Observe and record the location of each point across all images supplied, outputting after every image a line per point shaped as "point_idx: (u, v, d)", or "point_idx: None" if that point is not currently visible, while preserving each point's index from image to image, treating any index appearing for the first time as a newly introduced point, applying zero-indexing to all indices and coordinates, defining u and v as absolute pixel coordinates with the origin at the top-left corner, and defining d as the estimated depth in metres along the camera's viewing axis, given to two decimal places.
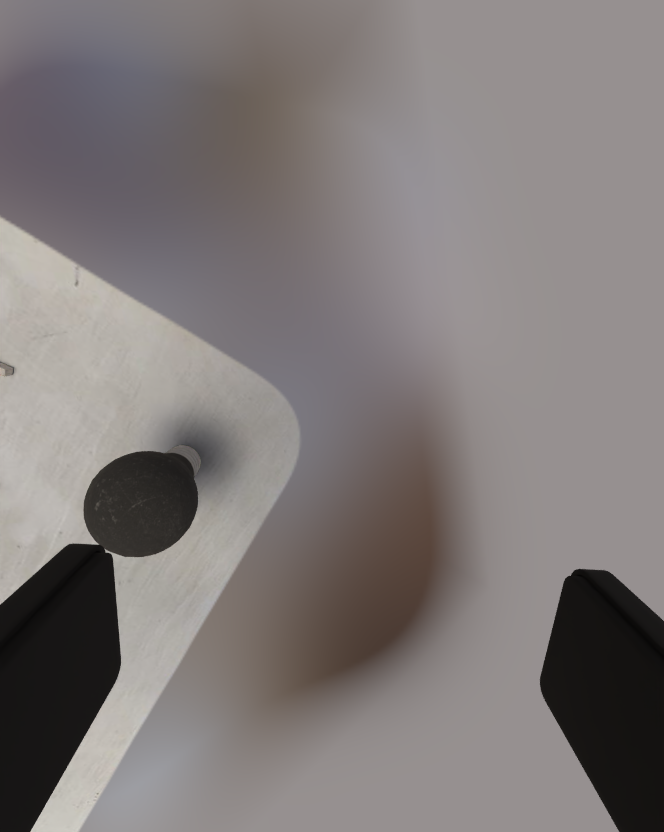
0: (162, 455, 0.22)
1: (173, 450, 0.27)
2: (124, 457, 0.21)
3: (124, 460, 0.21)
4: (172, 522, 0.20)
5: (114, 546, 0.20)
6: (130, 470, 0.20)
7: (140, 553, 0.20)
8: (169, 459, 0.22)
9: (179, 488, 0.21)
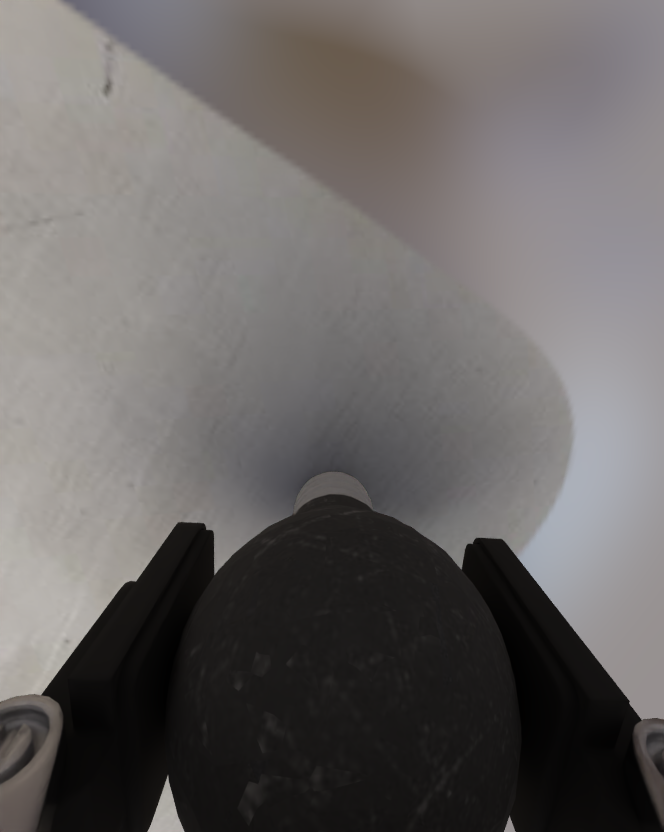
0: (399, 526, 0.07)
1: (327, 486, 0.12)
2: (301, 544, 0.06)
3: (313, 562, 0.06)
4: (511, 806, 0.05)
5: None
6: (363, 612, 0.05)
7: None
8: (427, 541, 0.07)
9: (506, 658, 0.06)
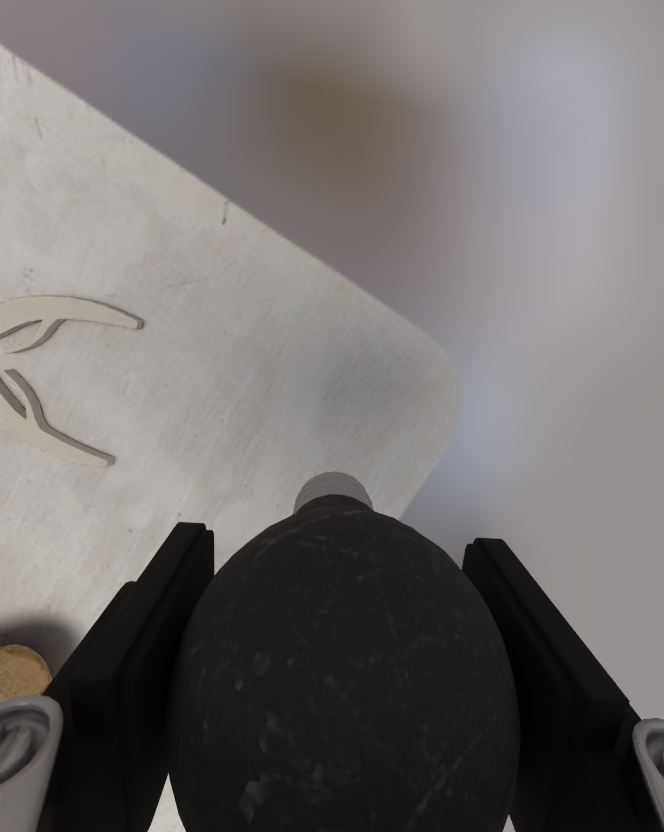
0: (399, 526, 0.07)
1: (327, 486, 0.12)
2: (301, 544, 0.06)
3: (313, 562, 0.06)
4: (510, 804, 0.05)
5: None
6: (362, 611, 0.05)
7: None
8: (426, 541, 0.07)
9: (505, 658, 0.06)
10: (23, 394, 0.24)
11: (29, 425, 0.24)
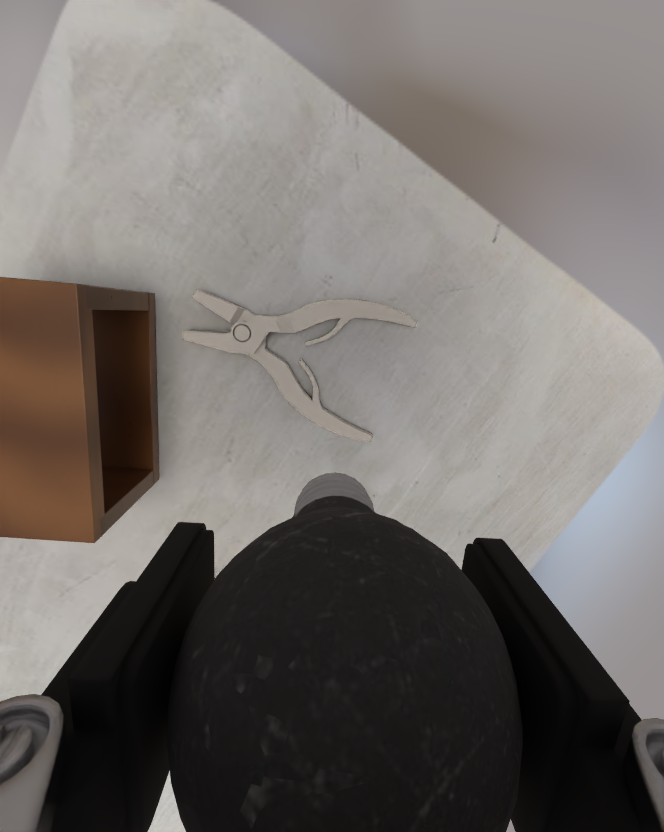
0: (400, 528, 0.07)
1: (328, 487, 0.12)
2: (302, 546, 0.06)
3: (315, 564, 0.06)
4: (513, 807, 0.05)
5: None
6: (364, 615, 0.05)
7: None
8: (428, 544, 0.07)
9: (507, 660, 0.06)
10: (313, 379, 0.29)
11: (313, 405, 0.29)
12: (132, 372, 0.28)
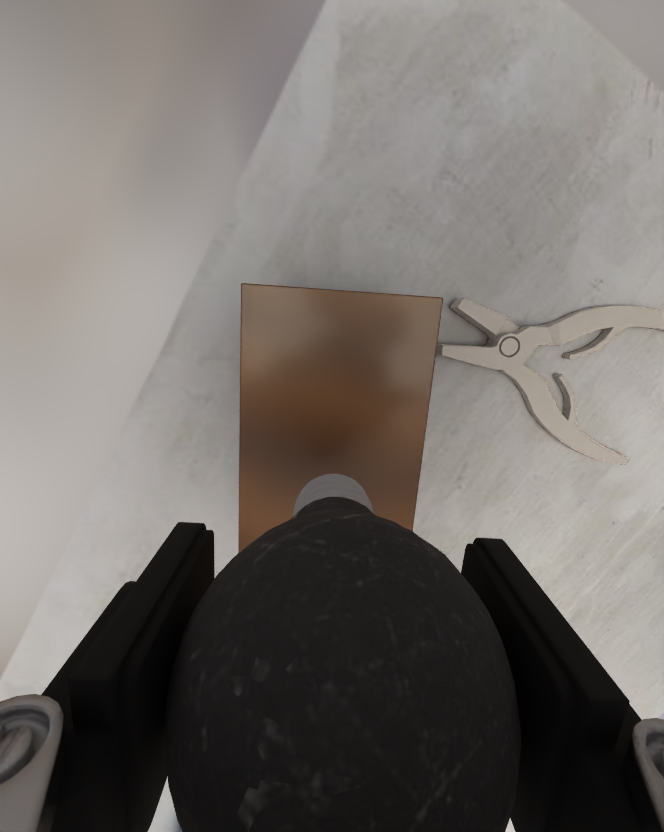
0: (399, 530, 0.07)
1: (327, 488, 0.12)
2: (300, 548, 0.06)
3: (312, 566, 0.06)
4: (511, 810, 0.05)
5: None
6: (362, 617, 0.05)
7: None
8: (426, 545, 0.07)
9: (506, 663, 0.06)
10: (573, 397, 0.25)
11: (569, 425, 0.26)
12: None
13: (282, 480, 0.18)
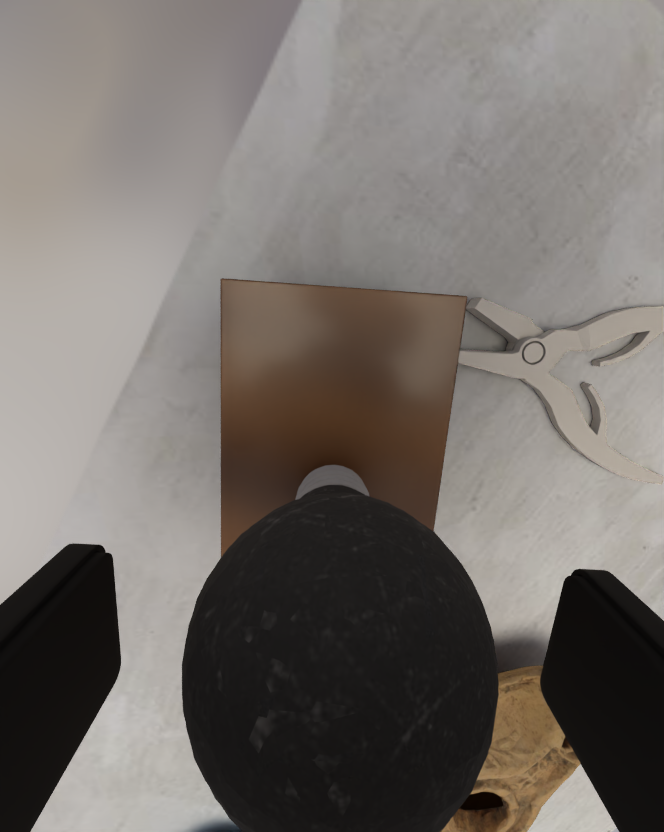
0: (391, 508, 0.08)
1: (327, 477, 0.12)
2: (302, 521, 0.07)
3: (313, 535, 0.06)
4: (488, 749, 0.06)
5: None
6: (357, 576, 0.06)
7: None
8: (416, 522, 0.07)
9: (485, 622, 0.06)
10: (603, 409, 0.22)
11: (598, 441, 0.23)
12: None
13: None
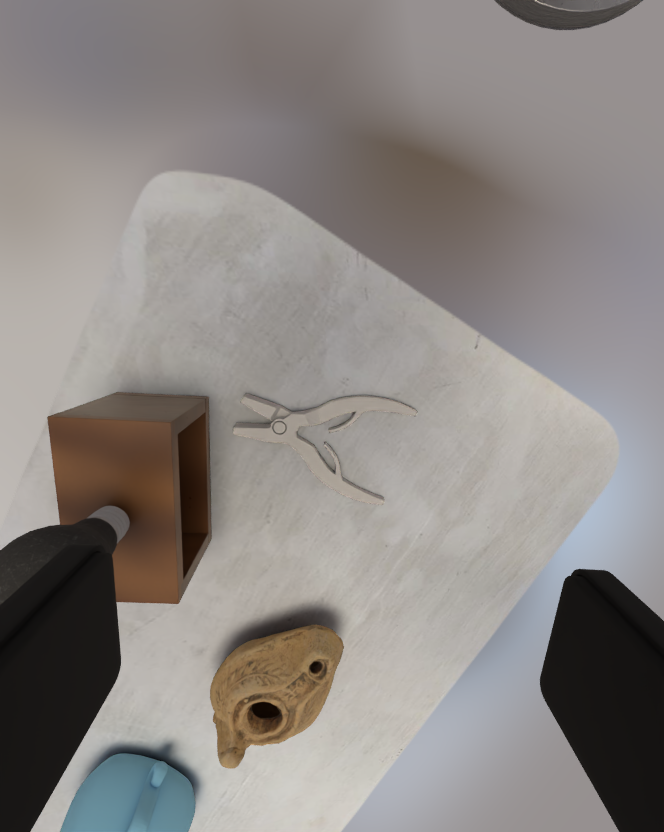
0: (68, 531, 0.21)
1: (97, 513, 0.26)
2: (24, 537, 0.20)
3: (22, 542, 0.20)
4: None
5: None
6: (25, 554, 0.19)
7: None
8: (75, 536, 0.21)
9: None
10: (336, 458, 0.36)
11: (336, 478, 0.36)
12: (192, 458, 0.35)
13: None
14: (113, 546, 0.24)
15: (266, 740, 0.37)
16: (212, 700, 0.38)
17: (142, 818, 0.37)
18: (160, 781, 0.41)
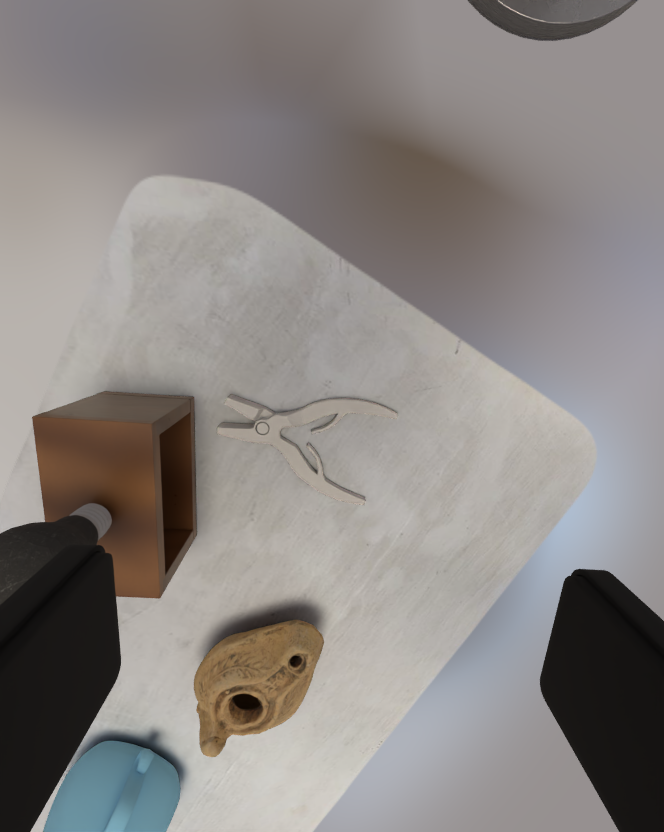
0: (47, 529, 0.22)
1: (79, 511, 0.26)
2: (4, 534, 0.21)
3: (3, 538, 0.20)
4: None
5: None
6: (5, 550, 0.20)
7: None
8: (54, 533, 0.22)
9: None
10: (318, 459, 0.37)
11: (318, 478, 0.37)
12: (177, 457, 0.36)
13: None
14: (93, 543, 0.25)
15: (247, 730, 0.38)
16: (195, 691, 0.39)
17: (127, 803, 0.39)
18: (145, 768, 0.42)
